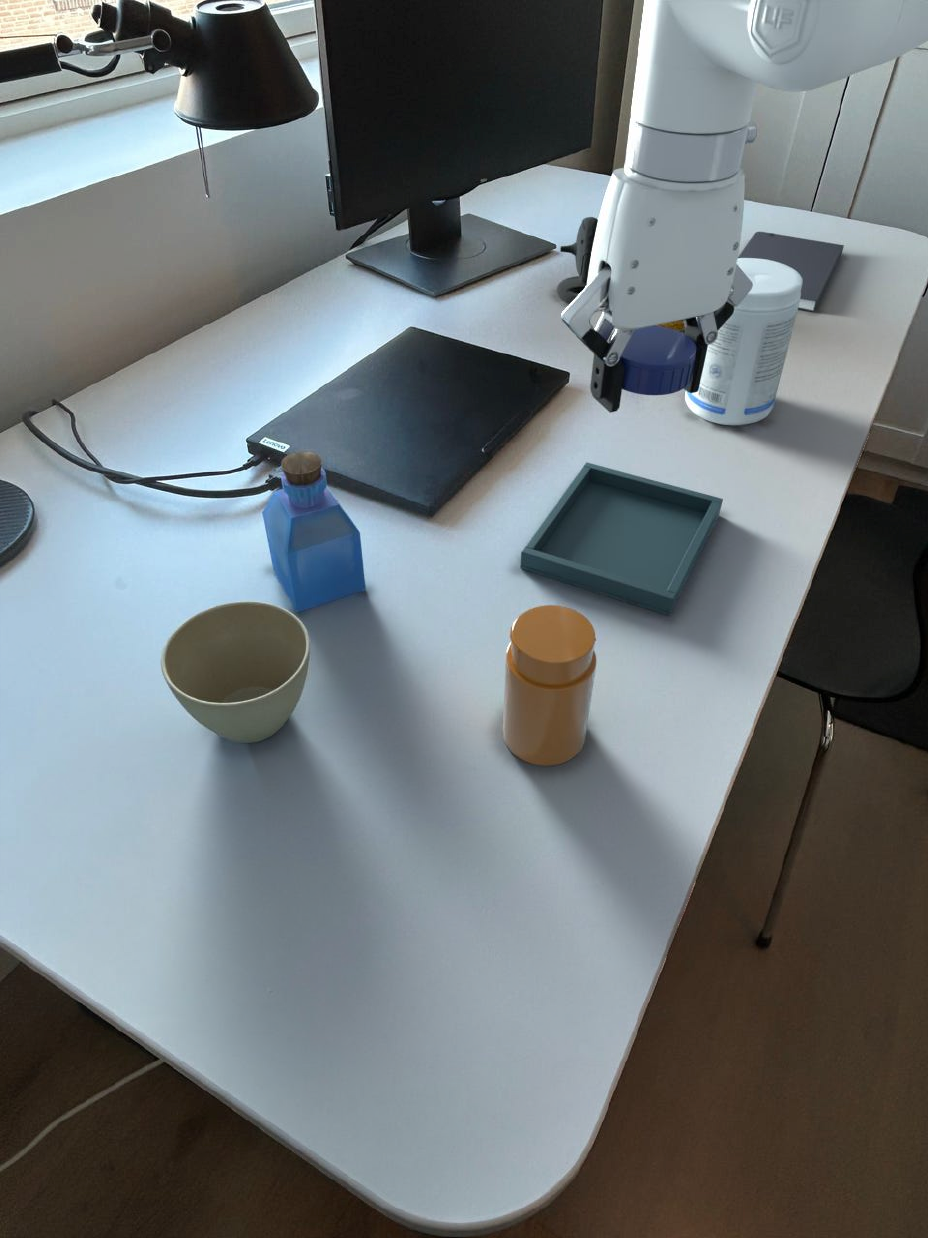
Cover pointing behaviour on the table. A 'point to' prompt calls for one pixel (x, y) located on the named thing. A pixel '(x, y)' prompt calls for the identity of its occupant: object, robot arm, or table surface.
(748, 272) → the supplement tub
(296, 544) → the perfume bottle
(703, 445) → the table surface
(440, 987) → the table surface
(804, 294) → the notebook
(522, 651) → the jar
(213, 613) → the flower pot
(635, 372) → the lid
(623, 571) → the tray
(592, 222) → the webcam
